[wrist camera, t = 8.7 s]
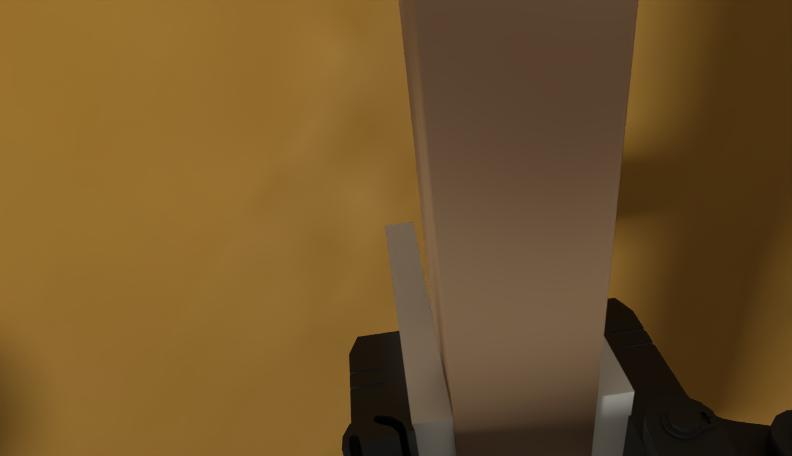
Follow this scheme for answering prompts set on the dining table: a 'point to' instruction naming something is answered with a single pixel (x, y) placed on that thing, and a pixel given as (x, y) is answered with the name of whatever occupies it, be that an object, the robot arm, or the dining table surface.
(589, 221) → the walnut stick
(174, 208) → the dining table surface
